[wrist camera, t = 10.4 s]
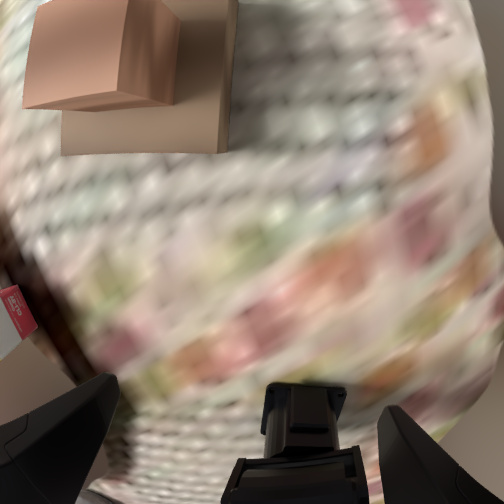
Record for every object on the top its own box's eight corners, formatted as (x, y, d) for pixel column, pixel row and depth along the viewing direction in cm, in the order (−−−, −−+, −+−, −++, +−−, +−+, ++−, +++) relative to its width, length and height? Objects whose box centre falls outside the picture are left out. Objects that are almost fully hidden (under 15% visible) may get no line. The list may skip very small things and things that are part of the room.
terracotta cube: (173, 105, 15) (116, 90, 9) (93, 112, 15) (21, 108, 9) (181, 20, 13) (133, -26, 7) (101, 34, 13) (37, 6, 8)
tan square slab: (227, 152, 18) (216, 153, 15) (86, 152, 19) (60, 156, 16) (238, 2, 15) (230, -18, 12) (98, 20, 16) (75, 9, 13)
